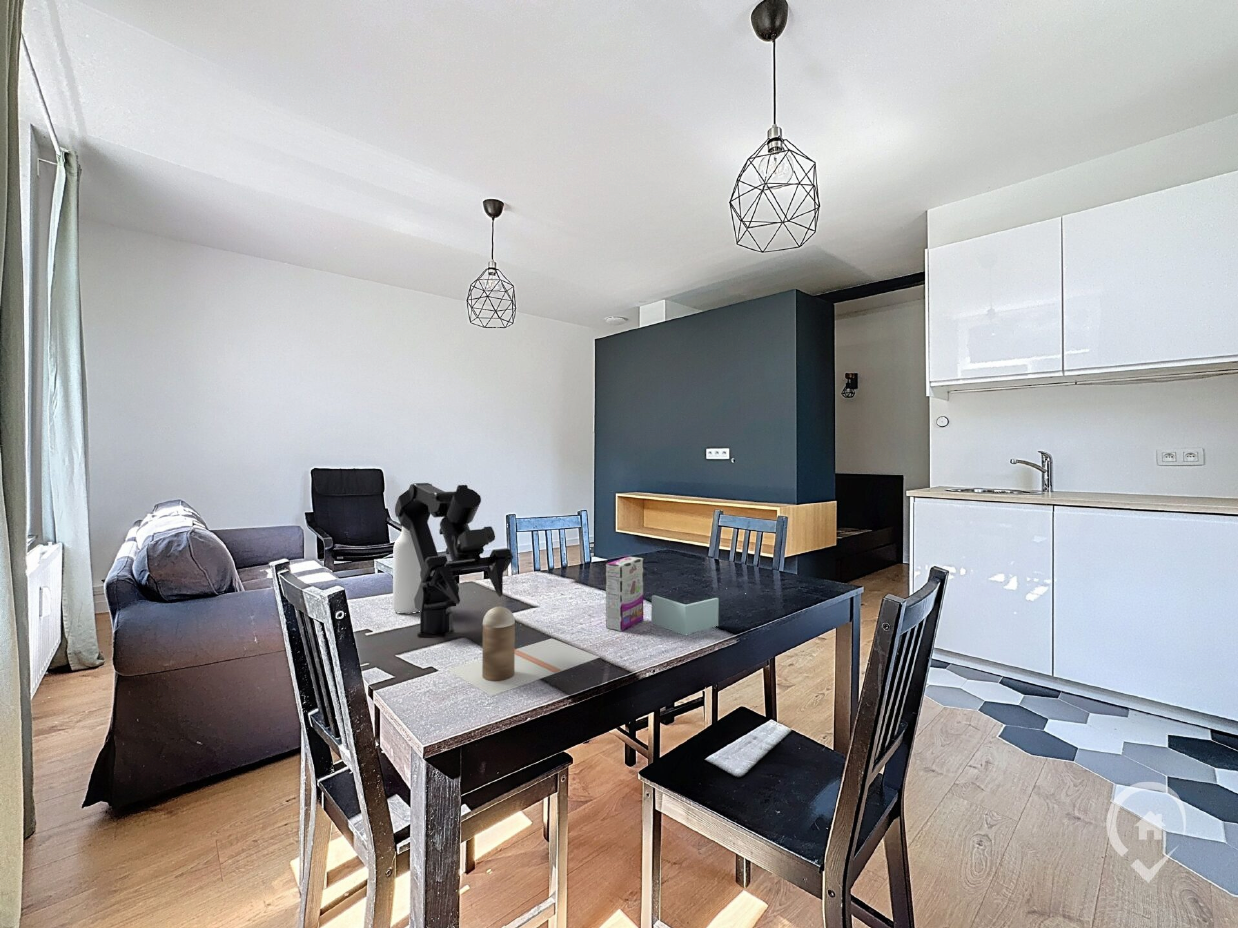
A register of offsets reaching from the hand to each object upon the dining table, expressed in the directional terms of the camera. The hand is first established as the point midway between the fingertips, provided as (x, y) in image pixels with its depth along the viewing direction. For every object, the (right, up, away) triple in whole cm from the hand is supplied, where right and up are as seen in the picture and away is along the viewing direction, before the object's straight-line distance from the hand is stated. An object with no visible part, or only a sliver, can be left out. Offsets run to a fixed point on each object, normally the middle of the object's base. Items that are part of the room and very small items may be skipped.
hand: (480, 598), depth 110 cm
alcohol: (-29, -13, +38) cm, 50 cm away
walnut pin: (+5, -13, -6) cm, 15 cm away
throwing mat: (+9, -14, 0) cm, 17 cm away
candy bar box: (+30, -14, +28) cm, 43 cm away
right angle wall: (+45, -14, +29) cm, 55 cm away
